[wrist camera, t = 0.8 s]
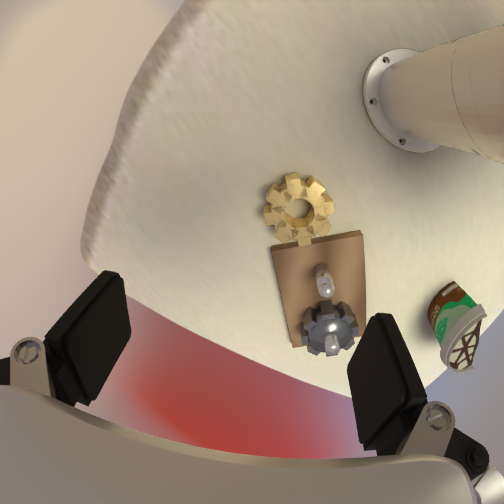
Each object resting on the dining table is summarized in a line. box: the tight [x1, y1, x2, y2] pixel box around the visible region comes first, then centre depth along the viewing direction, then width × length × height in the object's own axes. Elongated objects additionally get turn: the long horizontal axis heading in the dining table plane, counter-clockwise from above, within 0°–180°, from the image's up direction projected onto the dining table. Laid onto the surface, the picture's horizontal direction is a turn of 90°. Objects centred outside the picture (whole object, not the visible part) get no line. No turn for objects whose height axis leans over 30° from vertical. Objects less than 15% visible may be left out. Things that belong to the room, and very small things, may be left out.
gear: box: [300, 299, 359, 357], centre depth 35 cm, size 8×8×6 cm
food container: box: [428, 281, 487, 373], centre depth 32 cm, size 12×6×10 cm, turn 21°
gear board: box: [271, 230, 366, 348], centre depth 36 cm, size 11×16×2 cm
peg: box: [314, 263, 335, 298], centre depth 31 cm, size 2×2×5 cm
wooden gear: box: [263, 173, 335, 246], centre depth 31 cm, size 7×7×3 cm
